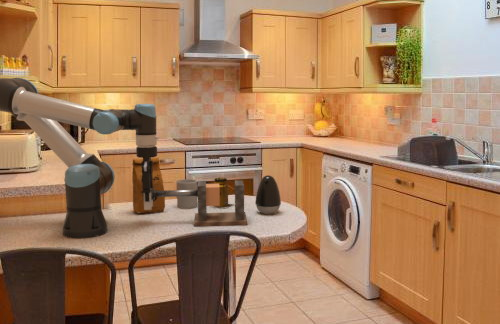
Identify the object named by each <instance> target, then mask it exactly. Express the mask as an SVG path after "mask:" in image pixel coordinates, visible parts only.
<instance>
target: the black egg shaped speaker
mask: <svg viewBox="0 0 500 324" xmlns="http://www.w3.org/2000/svg"><path fill="white" fill-rule="evenodd" d="M281 198H282V197H281V193H280V189H279V186H278V183H277V181H276V179H275V178H274V176H272V175H271V174H270V175H264V176H263V177H262V178H261V179H260V180H259V183H258V186H257V190H256V195H255V201H254V202H255V206H256V208H257V210H258V211H259V213H261V214H263V215H273V214H275V213H277V212H278V211H279V210H280V207H281V204H282V200H281Z"/></svg>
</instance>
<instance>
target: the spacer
mask: <svg viewBox="0 0 500 324" xmlns="http://www.w3.org/2000/svg"><path fill="white" fill-rule="evenodd" d="M206 206H207V207H211V206H220V188H219V184H214V183H206Z"/></svg>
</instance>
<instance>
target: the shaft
mask: <svg viewBox="0 0 500 324" xmlns="http://www.w3.org/2000/svg"><path fill="white" fill-rule="evenodd" d="M150 190H151V200H154V199H155V197H165V198H169V197H170V198H172V197H173V198H175V197H176V198H177V197H182V196H197V197H198V189H197V190H177V189H176V190H175V189H173V190H171V189H170V190H169V189H167V190H165V189H164V190H163V191H155V189H154V188H150ZM143 200H144V194H143Z"/></svg>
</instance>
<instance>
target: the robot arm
mask: <svg viewBox="0 0 500 324" xmlns="http://www.w3.org/2000/svg"><path fill="white" fill-rule="evenodd" d="M0 112H5V113H10V114H11V115H12V116H13V117H14V118H15V119H16V120H17V121H23V122H24V123H26V125H28V126H29V127H30V129H31V130H32V131H33V132H34V133H35V134H36V135H37V136H38V137H39V138H40V139H41V140H42V141H43V143H44V144H45V145H46V146H47V147H48V148H49V149H50V150H51V151H52V152H53V153H54V154H55V155H56V156H57V157H58V158H59V159H60V160H61V162H63V164H64V165H65V166H66V167H67V168H66V170H65V172H64V188H65V190H64V191H65V203H66V204H65V205H66V215H65V217H64V218H65V219H64V221H63V224H62V235H63V236H64V237H66V238H70V237H71V238H73V239H85V238H93V237H99V236H102V235H104V234H106V233H107V232H108V231H109V230H108V229H109V228H108V222H107V220H106V218H105V217H106V216H104V213H103V210H102V209H103V208H102V195H103V194H106V193H107V192H108V191H109V190H110V189H111V187H112V186H113V185H114V183H115V179H116V178H115V171H114V169H113V168H112V166H111V165H110V164H108V163H107V162H104V161H101V160H100V159H99V158H98V157H97V156H96V155H95V154H94V153H88V152H87V151H86V150H85V149H84V148H83V147H82V146H81V144H79V143H78V141H76V139H74V137H73V136H72V135H71V134H70V133H69V132H68V131H67V130H66V129H65V128H64V127H63V125H61V124H60V123H63V124H69V125H72V126H76V127H80V128H85V129H88V130H92V131H95V132H97V133H98V134H101V135H112V134H113V133H116V132H120V131H135V145H136V148H135V149H136V154H135V155H136V157H137V158H138V159H143V161H142V162H141V168H142V182H143V191H141V193H143V194H144V210H152V207H153V200H151V190H150V188H154V187H152V186H153V161H151V158H157V156H158V147H157V144H158V143H157V141H158V140H159V137H158V136H157V135H158V134H157V133H158V132H157V113H156V112H157V111H156V106H155V104H154V103H136V104H135V105H134V109H133V108H132V109H119V108H118V109H114V108H111V109H100V108H96V107H92V106H88V105H85V104H81V103H76V102H72V101H68V100H64V99H60V98H56V97H51V96H48V95H44V94H40V93H39V91H38V88H37V87H36V85H35V84H34V83H33V82H32V81H30V80H28V79H25V78H23V77H22V78H21V77H12V78H11V77H10V78H7V77H6V78H5V77H3V78H2V77H1V78H0Z"/></svg>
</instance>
